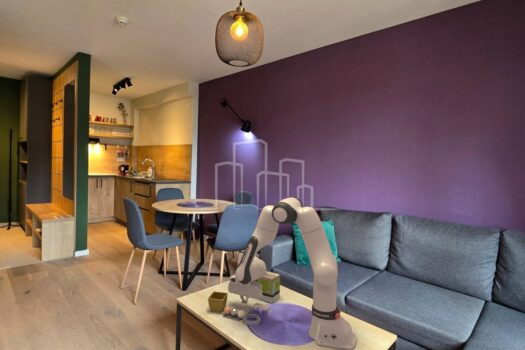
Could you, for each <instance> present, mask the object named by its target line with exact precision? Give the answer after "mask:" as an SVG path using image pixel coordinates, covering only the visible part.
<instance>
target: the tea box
mask: <svg viewBox="0 0 525 350" xmlns="http://www.w3.org/2000/svg"><path fill="white" fill-rule="evenodd" d="M254 281H256V282H260V283H261V284H262V297H261V298H260V299H259V300H260V301H263V302H266V303H270V304H273V303H274V302H276V301H278V299H280V297H281V294H280V293H281V274H280V273H276V272H272V271H268V270H267V273H266V275H265V276H264V277H262V278H259V279H257V280H254Z"/></svg>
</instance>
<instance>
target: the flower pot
mask: <svg viewBox="0 0 525 350" xmlns="http://www.w3.org/2000/svg"><path fill="white" fill-rule="evenodd" d="M228 294H229V292H223V291H214V290H213V292H212V293H210V295H209V296H208V298H207V301H208V308H209V310H210V311H211V312H212V313H213V312H215V313H219V314H220V313H221V314H222V313H223V312H224V308H225V307H227V306H226V305H227V302H228V297H229V296H228Z"/></svg>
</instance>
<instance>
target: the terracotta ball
mask: <svg viewBox="0 0 525 350" xmlns="http://www.w3.org/2000/svg"><path fill="white" fill-rule="evenodd" d="M231 310H232V308H231V307H230V306H225V308H224V309H223V313H224V314H226V315H228V314H230V312H231Z"/></svg>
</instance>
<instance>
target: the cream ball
mask: <svg viewBox="0 0 525 350" xmlns="http://www.w3.org/2000/svg"><path fill="white" fill-rule="evenodd" d="M237 315H238V317H239V318H243V317H244V316H245V315H246V311H245V310H243V309H241V310H238V313H237Z"/></svg>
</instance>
